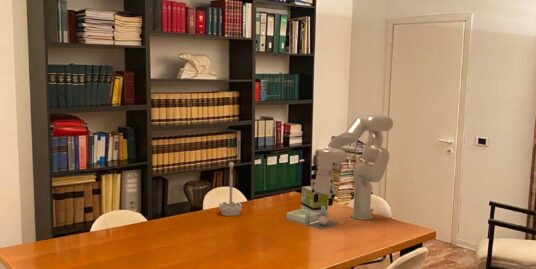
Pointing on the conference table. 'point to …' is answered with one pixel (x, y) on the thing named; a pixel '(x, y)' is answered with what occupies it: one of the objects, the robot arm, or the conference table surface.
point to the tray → (302, 216)
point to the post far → (323, 210)
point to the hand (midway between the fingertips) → (322, 203)
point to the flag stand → (230, 200)
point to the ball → (323, 220)
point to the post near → (307, 217)
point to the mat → (318, 224)
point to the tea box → (308, 200)
